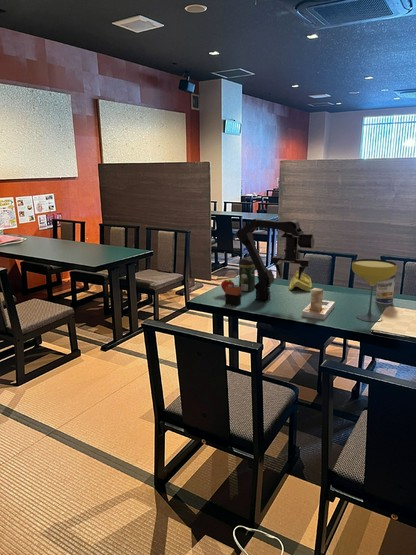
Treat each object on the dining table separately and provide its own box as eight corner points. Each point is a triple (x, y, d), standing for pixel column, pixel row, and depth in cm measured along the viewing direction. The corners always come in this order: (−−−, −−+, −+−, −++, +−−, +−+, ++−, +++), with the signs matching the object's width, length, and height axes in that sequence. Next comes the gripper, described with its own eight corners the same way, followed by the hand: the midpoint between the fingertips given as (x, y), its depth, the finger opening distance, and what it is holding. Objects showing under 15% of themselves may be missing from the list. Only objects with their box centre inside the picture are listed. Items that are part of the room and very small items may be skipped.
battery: (237, 306, 197) (237, 287, 195) (224, 304, 201) (224, 285, 198) (241, 304, 201) (241, 285, 198) (229, 302, 204) (229, 283, 202)
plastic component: (311, 288, 221) (295, 279, 222) (305, 299, 224) (288, 290, 224) (310, 276, 240) (295, 269, 240) (304, 287, 242) (289, 279, 243)
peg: (310, 315, 185) (311, 289, 182) (312, 312, 188) (314, 287, 185) (318, 316, 182) (320, 291, 180) (321, 314, 186) (323, 289, 183)
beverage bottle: (395, 302, 203) (399, 263, 198) (389, 305, 197) (393, 265, 192) (378, 298, 209) (382, 260, 204) (372, 302, 203) (375, 263, 198)
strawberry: (224, 292, 222) (224, 274, 219) (236, 294, 218) (236, 276, 216) (218, 295, 217) (218, 277, 214) (231, 297, 213) (231, 278, 211)
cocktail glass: (380, 311, 190) (385, 258, 184) (399, 324, 172) (405, 267, 166) (341, 311, 189) (346, 259, 183) (357, 325, 172) (362, 267, 166)
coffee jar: (244, 286, 233) (244, 255, 228) (256, 288, 229) (257, 256, 224) (236, 290, 225) (236, 258, 220) (249, 292, 221) (249, 259, 216)
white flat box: (301, 316, 183) (302, 310, 183) (314, 303, 201) (314, 298, 200) (324, 319, 179) (324, 313, 178) (334, 306, 196) (335, 301, 196)
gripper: (315, 245, 197) (313, 277, 201) (278, 243, 206) (277, 273, 209) (308, 249, 187) (307, 282, 191) (270, 246, 196) (269, 277, 200)
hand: (290, 278), depth 198 cm, fingers open, 9 cm apart
